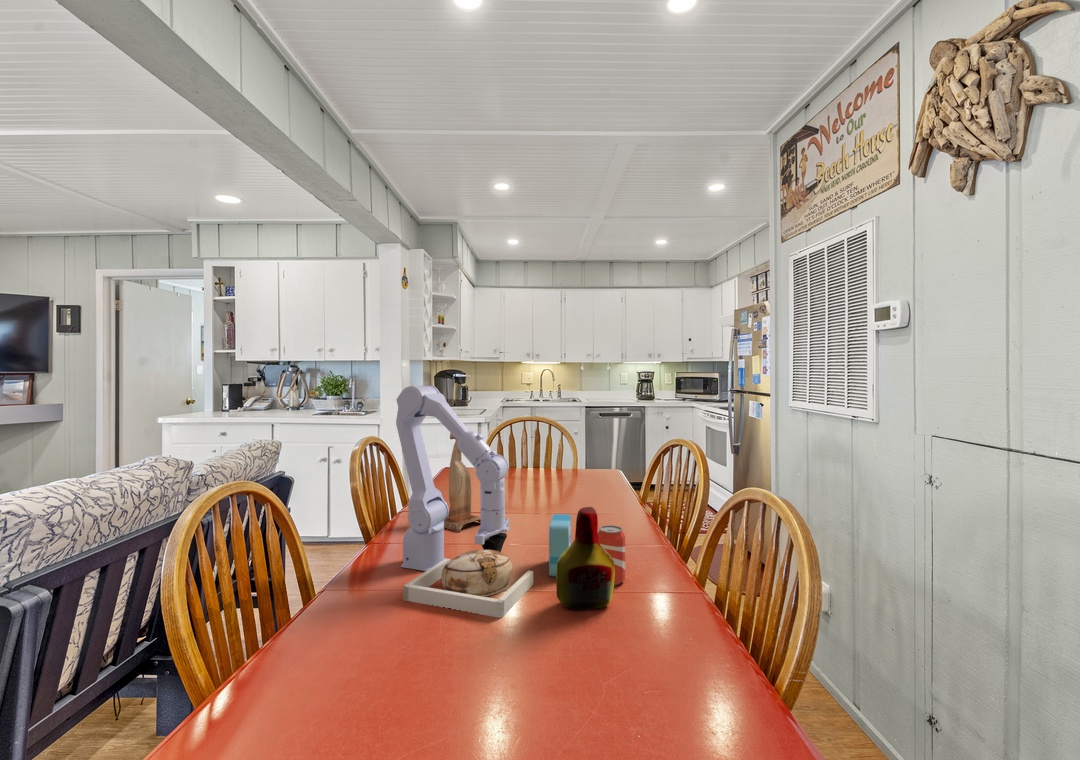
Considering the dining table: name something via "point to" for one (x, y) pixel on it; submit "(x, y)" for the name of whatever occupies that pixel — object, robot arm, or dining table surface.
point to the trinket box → (477, 573)
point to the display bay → (460, 601)
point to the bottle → (585, 567)
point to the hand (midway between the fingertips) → (492, 565)
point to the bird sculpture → (459, 492)
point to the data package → (558, 539)
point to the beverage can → (614, 548)
